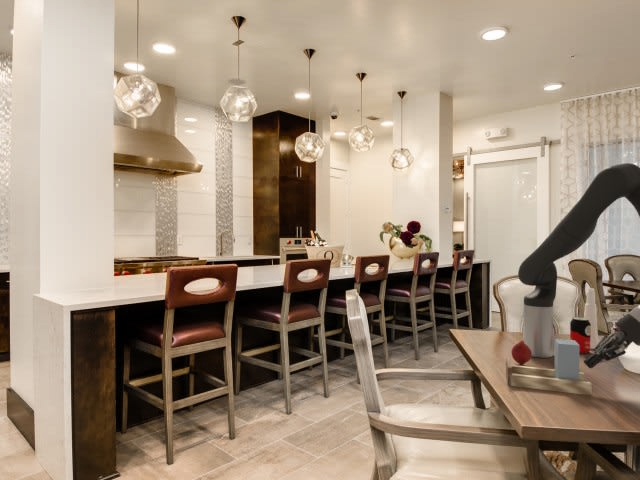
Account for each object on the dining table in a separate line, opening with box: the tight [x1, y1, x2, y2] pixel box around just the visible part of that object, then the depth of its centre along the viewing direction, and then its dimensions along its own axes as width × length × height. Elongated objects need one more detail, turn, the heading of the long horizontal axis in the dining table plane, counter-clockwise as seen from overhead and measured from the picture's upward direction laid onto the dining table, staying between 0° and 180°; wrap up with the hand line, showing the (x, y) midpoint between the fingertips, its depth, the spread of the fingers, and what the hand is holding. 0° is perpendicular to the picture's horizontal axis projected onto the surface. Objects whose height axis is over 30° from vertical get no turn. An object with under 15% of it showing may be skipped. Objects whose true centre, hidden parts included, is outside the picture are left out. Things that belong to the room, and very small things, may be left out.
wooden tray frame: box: [505, 357, 593, 396], centre depth 122 cm, size 20×10×5 cm, turn 70°
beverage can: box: [569, 316, 591, 354], centre depth 158 cm, size 6×6×12 cm
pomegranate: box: [511, 339, 533, 366], centre depth 140 cm, size 6×6×8 cm
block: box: [553, 338, 580, 381], centre depth 120 cm, size 5×6×11 cm
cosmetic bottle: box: [583, 287, 600, 350], centre depth 165 cm, size 6×6×22 cm
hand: (586, 365), depth 119 cm, fingers closed
